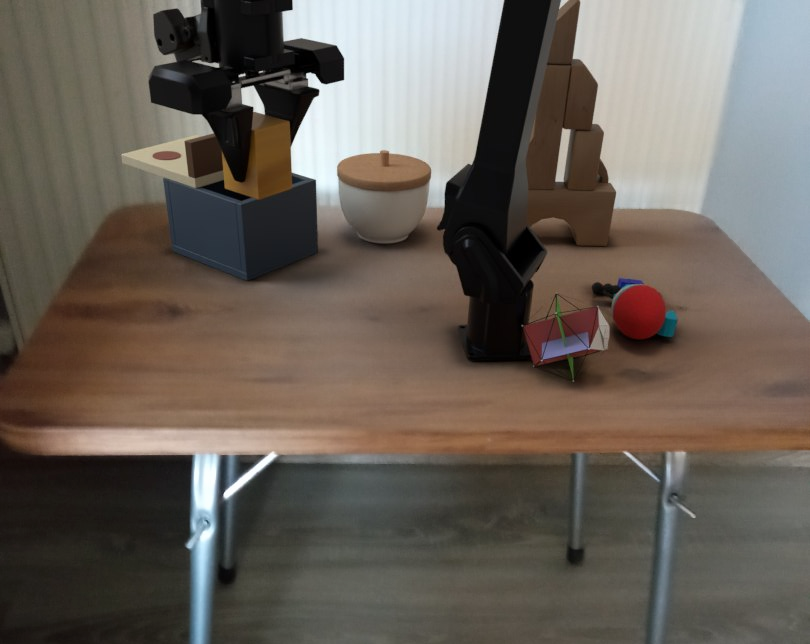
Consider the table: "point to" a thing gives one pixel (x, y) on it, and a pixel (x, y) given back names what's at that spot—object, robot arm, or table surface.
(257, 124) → the block
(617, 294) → the toy figure
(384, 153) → the trinket box
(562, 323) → the geometric puzzle
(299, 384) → the table surface
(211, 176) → the lid
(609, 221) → the wooden toy
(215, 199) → the box
